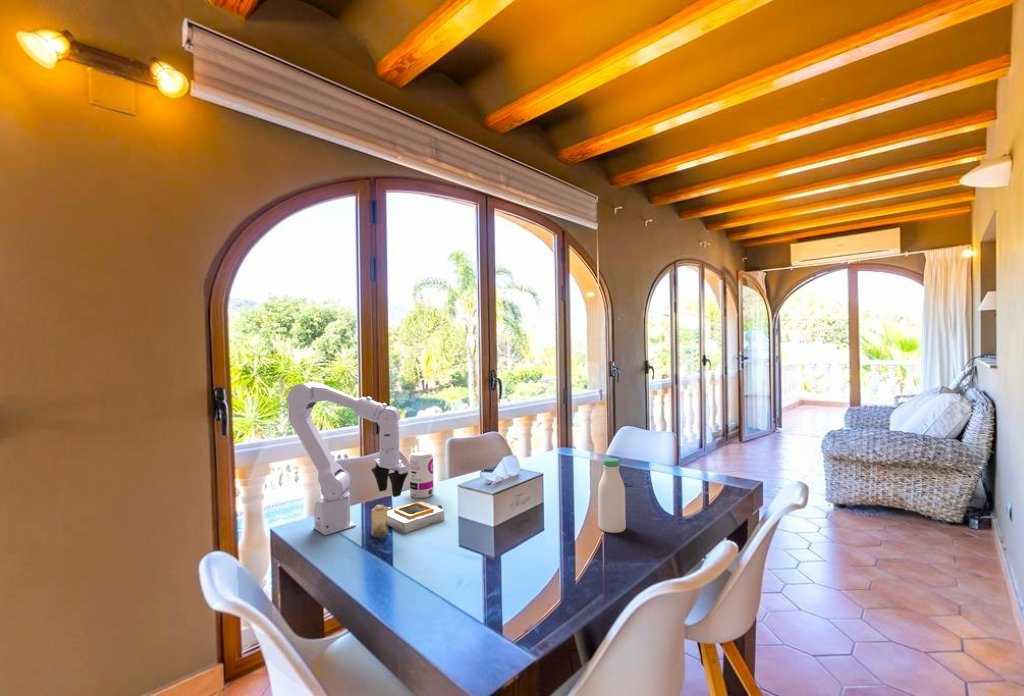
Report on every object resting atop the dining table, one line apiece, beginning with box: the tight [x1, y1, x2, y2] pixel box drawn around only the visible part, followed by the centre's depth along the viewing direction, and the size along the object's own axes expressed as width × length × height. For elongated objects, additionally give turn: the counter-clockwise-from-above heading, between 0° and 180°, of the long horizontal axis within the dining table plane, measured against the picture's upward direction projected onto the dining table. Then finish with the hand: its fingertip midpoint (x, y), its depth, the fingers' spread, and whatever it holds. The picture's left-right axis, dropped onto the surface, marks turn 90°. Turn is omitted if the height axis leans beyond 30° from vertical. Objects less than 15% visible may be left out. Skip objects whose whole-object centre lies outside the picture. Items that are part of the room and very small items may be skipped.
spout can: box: [370, 504, 394, 538], centre depth 133 cm, size 6×4×8 cm
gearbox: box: [388, 501, 445, 534], centre depth 142 cm, size 17×12×4 cm
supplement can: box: [409, 450, 435, 499], centre depth 166 cm, size 8×8×15 cm
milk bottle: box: [597, 457, 627, 534], centre depth 134 cm, size 8×8×20 cm
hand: (389, 493), depth 138 cm, fingers open, 7 cm apart
